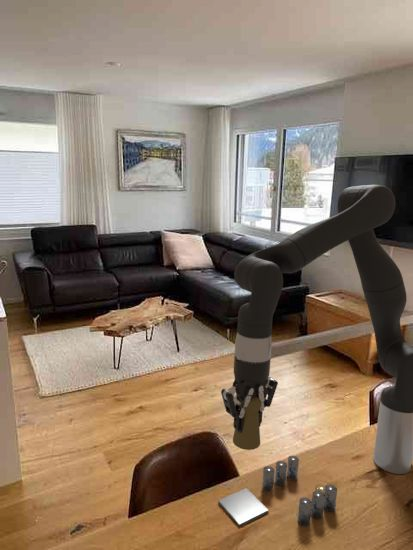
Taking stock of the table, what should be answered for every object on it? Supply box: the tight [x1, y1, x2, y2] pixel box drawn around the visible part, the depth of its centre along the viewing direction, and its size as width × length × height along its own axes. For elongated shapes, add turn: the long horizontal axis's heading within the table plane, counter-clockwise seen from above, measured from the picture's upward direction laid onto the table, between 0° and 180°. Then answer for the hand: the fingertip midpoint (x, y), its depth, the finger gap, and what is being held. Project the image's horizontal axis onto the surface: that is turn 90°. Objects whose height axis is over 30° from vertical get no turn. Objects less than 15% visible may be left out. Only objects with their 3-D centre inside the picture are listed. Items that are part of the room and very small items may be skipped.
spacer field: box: [261, 455, 338, 527], centre depth 96 cm, size 11×15×5 cm
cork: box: [232, 397, 262, 451], centre depth 89 cm, size 6×6×11 cm
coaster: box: [218, 487, 269, 527], centre depth 93 cm, size 8×8×1 cm
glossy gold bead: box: [314, 483, 327, 495], centre depth 99 cm, size 3×3×1 cm
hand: (247, 427), depth 89 cm, fingers closed on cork, 4 cm apart
